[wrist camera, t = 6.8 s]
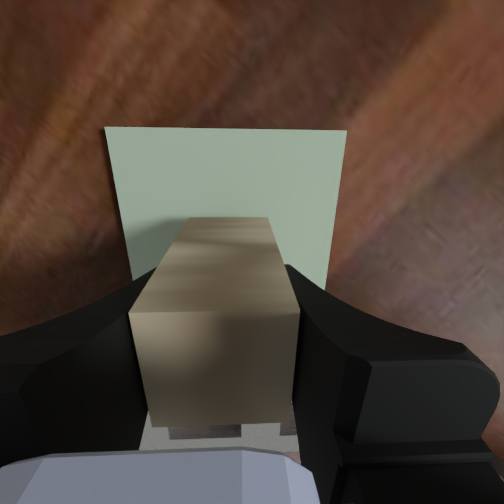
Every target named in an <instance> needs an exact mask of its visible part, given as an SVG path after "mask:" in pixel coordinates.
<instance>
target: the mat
mask: <svg viewBox="0 0 504 504" xmlns="http://www.w3.org/2000/svg"><path fill="white" fill-rule="evenodd" d="M104 128H105V133H106V138H107V144H108V149H109V154H110V160H111V165H112V171H113V176H114V181H115V187H116V192H117V198H118V203H119V208H120V214H121V219H122V224H123V230H124V235H125V241H126V246H127V251H128V257H129V262H130V268H131V273H132V278H133V281H134V280H135V279H137V278H139V277H140V276H142V275H144V274H145V273H147V272H149V271H150V270H152V269H154V268H155V267H157V266H158V265H159V264H160V262H161V260H162V259H163V257H164V256H165V254H166V252H167V251H168V249H169V248H170V246H171V245H172V243H173V241H174V240H175V238H176V237H177V235H178V233H179V232H180V230H181V229H182V227H183V226H184V224H185V222H186V221H187V219H188V218H189V217H268V220H269V223H270V226H271V228H272V231H273V234H274V237H275V240H276V243H277V245H278V248H279V251H280V254H281V257H282V260H283V262H284V264H290V265H291V266H293V267H294V268H295V269H296V270H298V271H299V272H300V273H301V274H303V275H304V276H305V277H307V278H308V279H309V280H310V281H312V282H313V283H315V284H316V285H317V286H319V287H320V288H322V289H323V290H325V284H326V277H327V269H328V262H329V255H330V248H331V241H332V234H333V227H334V219H335V212H336V205H337V198H338V191H339V184H340V177H341V170H342V162H343V155H344V148H345V141H346V134H347V131H339V130H277V129H214V128H152V127H104Z"/></svg>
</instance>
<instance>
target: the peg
mask: <svg viewBox="0 0 504 504" xmlns="http://www.w3.org/2000/svg"><path fill="white" fill-rule="evenodd" d="M128 314H129V319H130V323H131V328H132V333H133V338H134V343H135V347H136V352H137V357H138V362H139V367H140V372H141V376H142V381H143V386H144V391H145V396H146V400H147V405H148V410H149V415H150V420H151V424H152V427H178V426H206V425H233V424H261V423H288V422H289V420H290V410H291V400H292V389H293V379H294V369H295V358H296V348H297V338H298V327H299V317H300V308H299V305H298V302H297V299H296V296H295V294H294V291H293V288H292V285H291V282H290V279H289V277H288V274H287V271H286V268H285V265H284V262H283V260H282V257H281V254H280V251H279V248H278V245H277V243H276V240H275V237H274V234H273V231H272V228H271V226H270V223H269V220H268V217H189V218H188V219H187V221H186V222H185V224H184V226H183V227H182V229H181V230H180V232H179V233H178V235H177V237H176V238H175V240H174V241H173V243H172V245H171V246H170V248H169V249H168V251H167V252H166V254H165V256H164V257H163V259H162V260H161V262H160V264H159V265H158V267H157V268H156V270H155V271H154V273H153V275H152V276H151V278H150V279H149V281H148V282H147V284H146V286H145V287H144V289H143V290H142V292H141V294H140V295H139V297H138V298H137V300H136V301H135V303H134V305H133V306H132V308H131V309H130V311H129V313H128Z"/></svg>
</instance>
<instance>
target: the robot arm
mask: <svg viewBox="0 0 504 504" xmlns="http://www.w3.org/2000/svg"><path fill="white" fill-rule="evenodd" d="M284 265H285V268H286V271H287V274H288V277H289V279H290V282H291V285H292V288H293V291H294V294H295V296H296V299H297V302H298V305H299V308H300V317H299V327H298V338H297V348H296V358H295V369H294V379H293V389H292V404H293V410H294V417H295V424H296V431H297V437H298V444H299V452H300V459H301V465H300V464H299V463H297V462H295V461H294V460H292V459H290V458H289V457H287V456H286V455H284V454H282V453H281V452H279V451H274V450H266V449H258V448H250V447H243V446H238V447H213V448H187V449H161V450H139V448H140V443H141V439H142V435H143V431H144V427H145V423H146V418H147V414H148V411H149V410H148V405H147V400H146V396H145V391H144V386H143V381H142V376H141V372H140V367H139V362H138V357H137V352H136V347H135V343H134V338H133V333H132V328H131V323H130V319H129V314H128V313H129V311H130V309H131V308H132V306H133V305H134V303H135V301H136V300H137V298H138V297H139V295H140V294H141V292H142V290H143V289H144V287H145V286H146V284H147V282H148V281H149V279H150V278H151V276H152V275H153V273H154V271H155V270H156V268H157V267H158V266H157V267H155V268H154V269H152V270H150V271H149V272H147V273H145V274H144V275H142V276H140V277H139V278H137V279H135V280H134V281H132V282H131V283H129V284H127V285H126V286H124V287H122V288H120V289H118V290H117V291H115V292H113V293H111V294H109V295H107V296H106V297H104V298H102V299H100V300H98V301H96V302H94V303H92V304H89V305H87V306H85V307H83V308H80V309H78V310H76V311H73V312H71V313H68V314H66V315H63V316H60V317H58V318H55V319H52V320H50V321H47V322H44V323H42V324H39V325H36V326H33V327H30V328H26V329H23V330H20V331H17V332H14V333H10V334H7V335H3V336H0V504H504V481H503V480H502V479H501V477H500V476H499V475H498V473H497V472H496V471H495V469H494V468H493V467H492V466H491V464H490V463H489V461H492V460H493V458H494V456H493V452H492V451H491V450H490V449H489V447H488V446H487V445H486V444H485V442H484V441H483V440H482V439H481V435H482V433H483V431H484V429H485V428H486V426H487V424H488V422H489V420H490V418H491V417H492V415H493V413H494V411H495V409H496V407H497V404H498V401H499V398H500V383H499V381H498V379H497V377H496V375H495V373H494V372H493V371H492V370H491V369H489V368H488V367H487V366H486V365H485V364H484V363H483V362H482V361H481V360H480V359H479V358H478V357H477V356H476V355H475V354H473V353H472V352H471V351H470V350H469V349H468V348H467V347H466V346H465V345H464V344H462V343H459V342H455V341H451V340H447V339H443V338H440V337H436V336H432V335H428V334H424V333H420V332H417V331H414V330H411V329H408V328H404V327H401V326H398V325H395V324H393V323H390V322H387V321H384V320H382V319H379V318H377V317H374V316H372V315H370V314H367V313H365V312H363V311H361V310H358V309H356V308H354V307H352V306H350V305H348V304H347V303H345V302H343V301H341V300H339V299H337V298H336V297H334V296H332V295H331V294H329V293H328V292H326V291H325V290H323V289H322V288H320V287H319V286H317V285H316V284H315V283H313V282H312V281H310V280H309V279H308V278H307V277H305V276H304V275H303V274H301V273H300V272H299V271H298V270H296V269H295V268H294V267H293V266H291V265H290V264H284Z"/></svg>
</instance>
